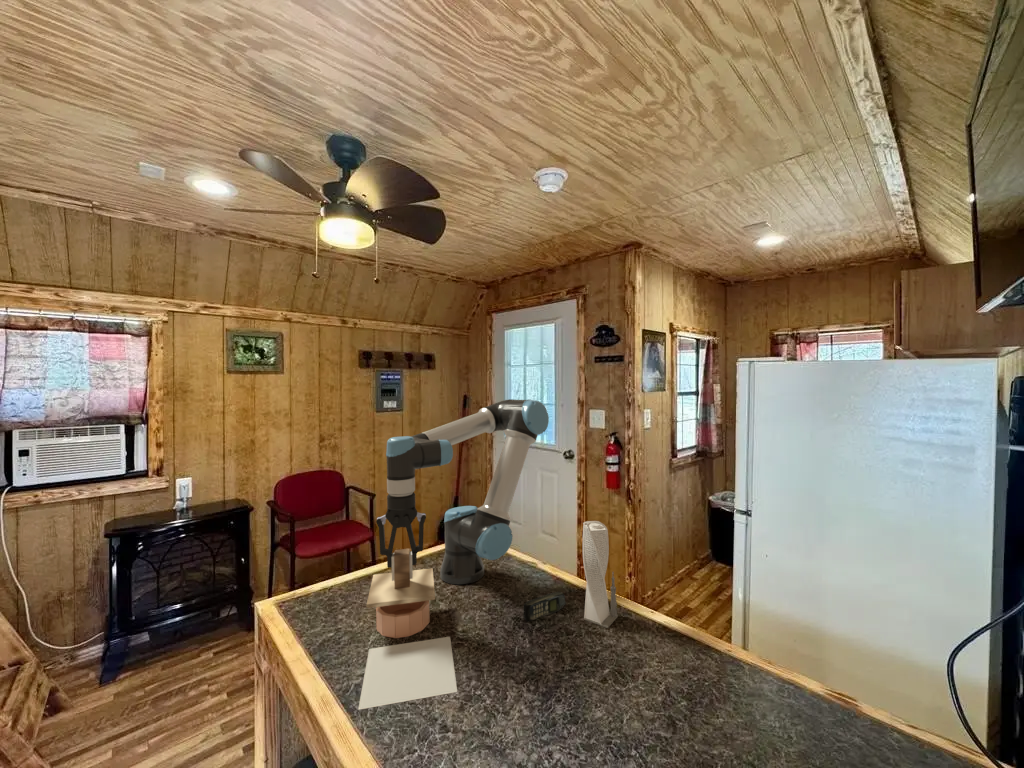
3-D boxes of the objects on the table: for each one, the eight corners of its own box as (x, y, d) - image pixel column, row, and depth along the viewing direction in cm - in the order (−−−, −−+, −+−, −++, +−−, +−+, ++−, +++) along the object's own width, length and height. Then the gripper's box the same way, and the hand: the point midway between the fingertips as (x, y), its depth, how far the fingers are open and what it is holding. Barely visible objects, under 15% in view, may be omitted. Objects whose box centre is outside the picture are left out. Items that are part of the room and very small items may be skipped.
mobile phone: (527, 606, 114) (569, 590, 122) (521, 602, 117) (563, 586, 125) (527, 624, 115) (570, 607, 122) (521, 619, 117) (563, 602, 125)
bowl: (428, 607, 124) (428, 587, 124) (430, 635, 110) (429, 612, 110) (379, 614, 120) (379, 593, 120) (374, 643, 107) (374, 620, 107)
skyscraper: (605, 630, 110) (603, 525, 110) (578, 620, 115) (576, 519, 115) (618, 616, 117) (616, 516, 117) (591, 607, 122) (590, 512, 122)
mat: (450, 638, 108) (450, 636, 108) (457, 694, 89) (457, 691, 89) (369, 651, 104) (369, 648, 104) (358, 712, 84) (358, 709, 84)
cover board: (432, 571, 125) (432, 538, 125) (435, 599, 109) (434, 561, 109) (373, 578, 122) (373, 543, 122) (366, 608, 105) (366, 568, 105)
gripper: (432, 487, 121) (433, 568, 121) (370, 491, 117) (371, 575, 117) (433, 494, 113) (434, 580, 113) (367, 498, 110) (368, 587, 110)
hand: (402, 577), depth 115 cm, fingers closed on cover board, 4 cm apart
